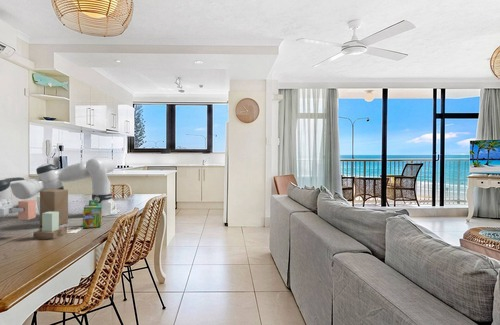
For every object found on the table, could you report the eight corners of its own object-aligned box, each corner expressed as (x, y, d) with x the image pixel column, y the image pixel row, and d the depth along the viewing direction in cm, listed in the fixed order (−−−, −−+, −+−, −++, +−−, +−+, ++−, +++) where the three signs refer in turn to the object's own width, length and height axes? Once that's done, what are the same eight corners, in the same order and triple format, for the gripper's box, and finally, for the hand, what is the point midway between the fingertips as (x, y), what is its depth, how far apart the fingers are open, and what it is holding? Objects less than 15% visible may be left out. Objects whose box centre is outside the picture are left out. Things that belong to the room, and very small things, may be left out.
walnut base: (47, 233, 156) (47, 227, 155) (66, 233, 155) (66, 228, 155) (33, 238, 146) (33, 232, 145) (53, 239, 145) (53, 233, 145)
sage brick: (49, 228, 153) (49, 211, 153) (58, 229, 153) (58, 211, 152) (42, 231, 148) (42, 213, 148) (52, 231, 148) (52, 213, 147)
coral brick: (26, 217, 152) (25, 199, 152) (35, 217, 152) (35, 199, 152) (18, 219, 147) (18, 201, 147) (28, 219, 147) (27, 201, 147)
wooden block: (54, 226, 169) (54, 191, 168) (39, 225, 171) (39, 190, 170) (68, 223, 179) (68, 189, 178) (54, 221, 181) (54, 189, 180)
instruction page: (67, 227, 168) (67, 227, 168) (84, 227, 169) (84, 226, 169) (57, 233, 156) (57, 232, 156) (75, 233, 157) (75, 232, 157)
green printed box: (82, 228, 166) (83, 201, 166) (84, 224, 174) (85, 199, 174) (101, 227, 170) (101, 201, 169) (101, 223, 178) (102, 199, 178)
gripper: (18, 210, 161) (43, 210, 160) (-17, 218, 140) (12, 219, 140) (18, 198, 160) (43, 198, 160) (-17, 205, 140) (12, 205, 140)
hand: (28, 208), depth 150 cm, fingers closed on coral brick, 5 cm apart
